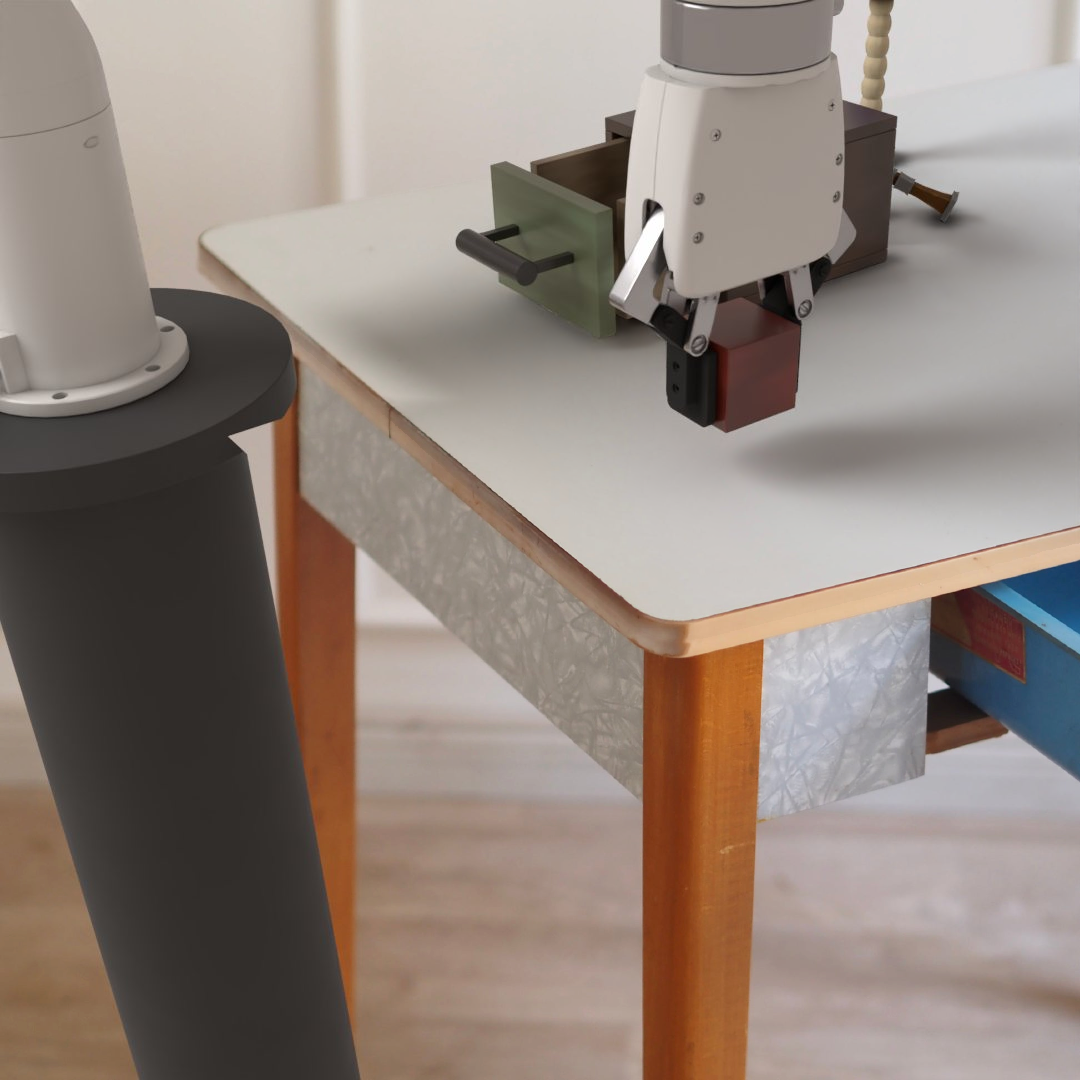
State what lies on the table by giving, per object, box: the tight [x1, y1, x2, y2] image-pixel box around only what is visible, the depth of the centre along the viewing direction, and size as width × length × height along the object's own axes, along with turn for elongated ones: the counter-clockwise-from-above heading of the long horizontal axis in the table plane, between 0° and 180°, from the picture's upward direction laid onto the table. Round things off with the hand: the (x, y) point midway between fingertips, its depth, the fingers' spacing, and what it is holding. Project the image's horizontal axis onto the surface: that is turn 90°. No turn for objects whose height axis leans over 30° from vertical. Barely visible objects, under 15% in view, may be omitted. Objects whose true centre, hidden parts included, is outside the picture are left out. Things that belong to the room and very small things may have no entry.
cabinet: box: [604, 99, 898, 304], centre depth 98 cm, size 14×13×10 cm
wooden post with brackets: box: [892, 166, 960, 223], centre depth 105 cm, size 2×8×4 cm, turn 72°
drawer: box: [455, 137, 689, 340], centre depth 93 cm, size 17×11×8 cm
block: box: [683, 297, 800, 434], centre depth 75 cm, size 4×4×4 cm
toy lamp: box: [858, 0, 895, 112], centre depth 111 cm, size 5×5×17 cm
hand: (732, 397), depth 76 cm, fingers closed on block, 4 cm apart
